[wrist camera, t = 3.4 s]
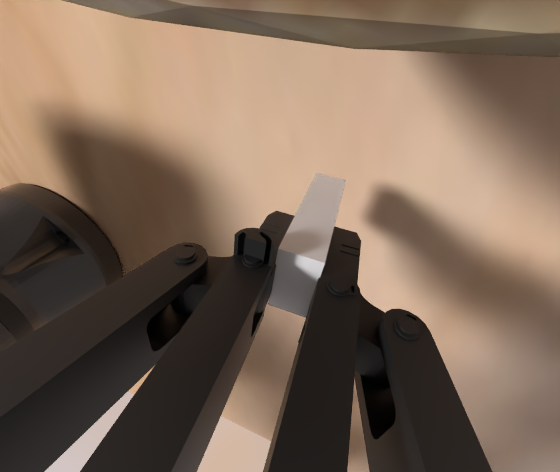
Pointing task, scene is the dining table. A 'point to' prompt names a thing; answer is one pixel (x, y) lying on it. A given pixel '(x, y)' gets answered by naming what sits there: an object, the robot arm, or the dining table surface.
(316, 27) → the plant pot
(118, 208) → the dining table surface
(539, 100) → the dining table surface
